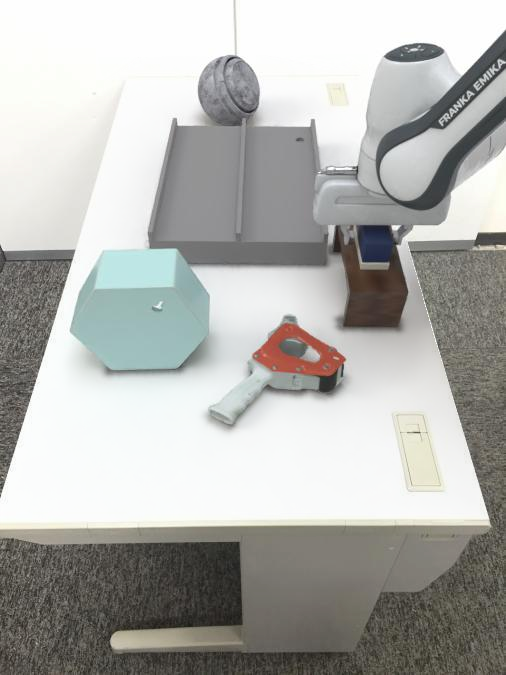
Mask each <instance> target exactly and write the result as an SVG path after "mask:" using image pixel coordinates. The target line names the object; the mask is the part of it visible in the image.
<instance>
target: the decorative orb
mask: <svg viewBox="0 0 506 675" xmlns="http://www.w3.org/2000/svg"><path fill="white" fill-rule="evenodd" d="M260 95H261V88H260V83H259V80H258V77H257V74H256V72H255V70H254V69H253V67H251V65H250V64H249V63H247V62H246V61H245V60H244V59H243V58H242V57H240V56H238V55H234V54H227V55H222V56H219V57H216V58H214V59H212V60H211V61H210V62H209V63H207V65H206V66H205V67H204V68H203V70H202V72H201V74H200V76H199V79H198V83H197V96H198V100H199V104H200V107H201V108H202V110H203V111H204V113H205V114H206V115H207V117H209V119H211V120H213V121H214V122H215V123H218V124H221V125H223V126H237V125H240V124H242V118H246V121H247V120H248V119H250V118H251V117H253V116H254V115H255V113H256V112H257V110H258V108H259V105H260V98H261V97H260Z"/></svg>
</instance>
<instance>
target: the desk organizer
mask: <svg viewBox="0 0 506 675" xmlns="http://www.w3.org/2000/svg"><path fill="white" fill-rule="evenodd" d="M317 135H318V134H317V126H316V119H315V118H311V119H310V125H309V126H280V125H279V126H278V125H277V126H276V125H275V126H269V125H268V126H267V125H265V126H262V125H258V126H257V125H248V126H247V120H246V118H242V123H241V125H179V124H178V118H177V117H173V118H172V121H171V126H170V130H169V134H168V138H167V143H166V146H165V152H164V156H163V161H162V165H161V170H160V175H159V178H158V183H157V188H156V192H155V197H154V200H153V205H152V209H151V215H150V219H149V223H148V227H147V238H148V245H149V249H178V251H179V252H180V253H181V255H182V256H183V258H184V259H185V261H186V262H187V263H188V264H228V265H229V264H232V265H234V264H235V265H236V264H237V265H239V264H241V265H321V266H322V265H324V266H325V264H326V259H327V250H328V245H329V235H330V234H329V233H330V232H329V225H318V224H317V223H316V221H315V220H314V218H313V202H314V197H315V193H316V191H315V190H314V179H315V176H316V174H317V173H318V172H319V171H321V170H322V167H321V159H320V151H319V144H318V143H319V142H318V136H317Z"/></svg>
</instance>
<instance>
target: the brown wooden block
mask: <svg viewBox="0 0 506 675" xmlns="http://www.w3.org/2000/svg"><path fill="white" fill-rule="evenodd" d="M392 226H393V225H389V229H390V233H392V231H394V229H393V227H392ZM353 228H354V225H350V229H349V230H353ZM331 250H332V253H341V258H342V264H343V271H344V278H345V284H346V290H347V294H346V299H345V305H344V309H343V315H342V326H343V328H399V325H400V322H401V319H402V316H403V312H404V310H405V306H406V303H407V300H408V296H409V293H410V291H409V288H408V284H407V280H406V276H405V273H404V272H405V271H404V269H403V265H402V261H401V257H400V253H399V249H398V245H393V248H392V252H391V255H390V259H389V268H388V270H361V269H360V264H359V258H358V253H357V248H356V243H355V241H354V245H345V244H344V234H343V232H342V230H341V227H340V225H334V231H333V238H332V246H331Z"/></svg>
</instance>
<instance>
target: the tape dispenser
mask: <svg viewBox="0 0 506 675" xmlns="http://www.w3.org/2000/svg"><path fill="white" fill-rule="evenodd" d="M309 347H310V348H311V349H313V350H315V351H316V352H317V354H318V355H319V360H318V361H315V362H313V361H309V360H305V359H303V356H304V355H305V354H306V353H307V351H308V348H309ZM251 355H252V356H251V357H250V358H248V359H247V361H246V362H247V368H248V369H249V371H251V375H249V376H247V377H246V378H245V379H244V380H242V381H241V382H239V383H238V384H237V385H236V386H234V387H233V388H232V389H231V390H230V391H229V392H227V394H225V395H224V396H223V397H222V398H221V400H220V401H219V402H217V403H216V404H212V405H209V406H208V408H207V409H208V413H209V414H210V415H211V417H213V418H214V419H216V420H218V421H220V422H222V423H225V424H227V425H234V424H235V421H236V419H237V417H238V416H239V415H240V414H241V413H242V412H244V411H245V410H246V408H247V406H248V405H249V404H251V403H252V402H253V401H254V398H255V397H257V396H258V395H261V393H262V391H263V389H264V388H265V387H266V386H267V385H268V386H269V387H271V388H273V389H279V390H288V391H289V390H291V391H301V390H304V389H305V390H315V391H317V392H318V393H321V394H329V393H331V392H332V391H334V389H335V388H337V387H338V385H340V383H342V382H343V381H344V379H345V375H344V370H345V362H346V361H347V358H346V357H345V356H344V355H343V354H341V353H340V352H339V351H338V350H337V348H336V347H334V346H331V345H329V344H328V343H326V342H323V341H322V340H320V339H318V338H317V337H315V336H313V335H311V334H310V333H309V332H308V331H306V330H304V329H303V328H302V327H300V325H299V323H298V319H297V316H296V315H294V314H292V313H287V314H284V315H283V316H282V318H281V321H280V323H279V324H278V325H277V327H276V328H274V329H273V330H271V331H269V332H268V334H267V341H265V343H263V344H262V345H261V347H260V348H259V349H257V350H255V351H254V352H253V353H252V354H251Z"/></svg>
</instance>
